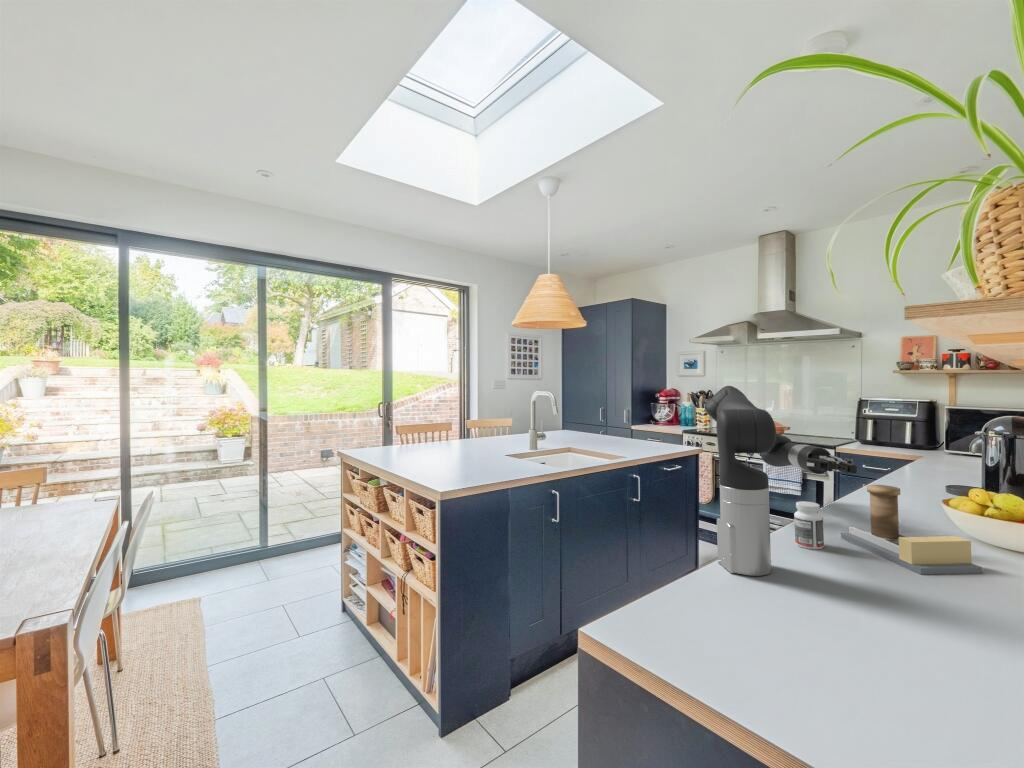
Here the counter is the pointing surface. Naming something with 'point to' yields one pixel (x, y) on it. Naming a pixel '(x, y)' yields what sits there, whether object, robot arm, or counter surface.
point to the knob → (884, 512)
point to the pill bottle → (808, 525)
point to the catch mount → (920, 552)
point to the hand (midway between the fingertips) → (853, 469)
